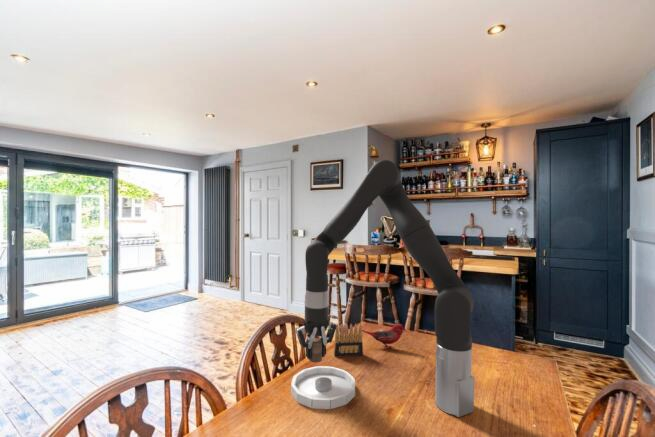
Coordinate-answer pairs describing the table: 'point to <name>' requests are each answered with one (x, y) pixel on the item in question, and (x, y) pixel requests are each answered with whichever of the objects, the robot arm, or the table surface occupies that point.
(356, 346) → the ammunition clip
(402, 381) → the table surface
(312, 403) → the ring tray
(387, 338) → the decorative bird figurine
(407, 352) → the table surface
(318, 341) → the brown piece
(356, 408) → the table surface
